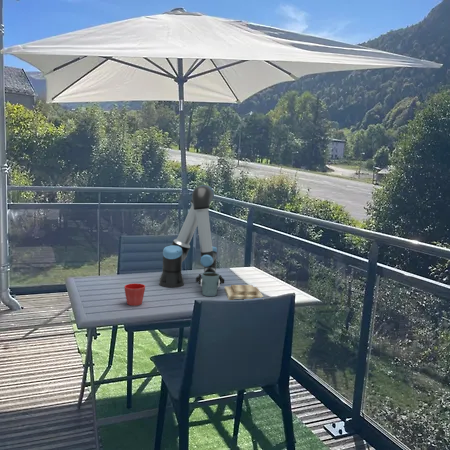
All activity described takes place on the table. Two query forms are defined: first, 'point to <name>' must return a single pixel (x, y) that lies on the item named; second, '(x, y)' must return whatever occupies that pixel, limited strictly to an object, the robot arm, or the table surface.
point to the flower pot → (134, 294)
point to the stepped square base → (242, 292)
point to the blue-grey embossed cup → (210, 283)
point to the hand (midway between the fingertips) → (210, 284)
